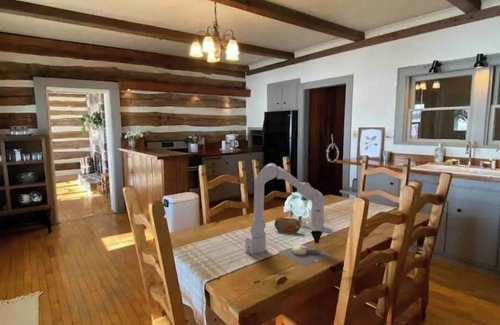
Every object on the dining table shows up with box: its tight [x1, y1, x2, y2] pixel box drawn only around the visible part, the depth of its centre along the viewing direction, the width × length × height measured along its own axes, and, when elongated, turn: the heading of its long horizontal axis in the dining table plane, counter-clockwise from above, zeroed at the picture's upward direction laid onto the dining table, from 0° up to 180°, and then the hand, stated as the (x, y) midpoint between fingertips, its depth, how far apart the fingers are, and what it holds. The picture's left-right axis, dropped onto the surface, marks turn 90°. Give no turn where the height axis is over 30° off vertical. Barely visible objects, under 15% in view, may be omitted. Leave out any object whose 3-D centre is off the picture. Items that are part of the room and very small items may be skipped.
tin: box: [274, 216, 301, 234], centre depth 174 cm, size 15×3×8 cm, turn 62°
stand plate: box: [278, 243, 333, 267], centre depth 141 cm, size 18×18×2 cm
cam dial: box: [291, 242, 322, 255], centre depth 142 cm, size 13×7×5 cm, turn 76°
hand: (317, 245), depth 143 cm, fingers closed, pressing on cam dial
